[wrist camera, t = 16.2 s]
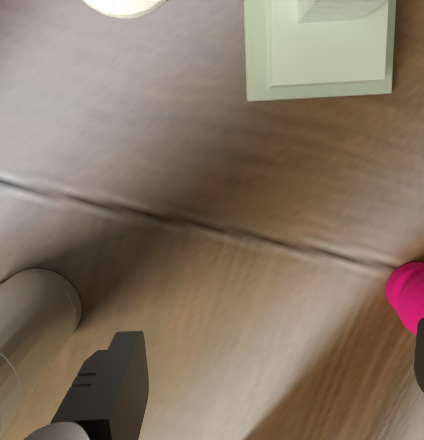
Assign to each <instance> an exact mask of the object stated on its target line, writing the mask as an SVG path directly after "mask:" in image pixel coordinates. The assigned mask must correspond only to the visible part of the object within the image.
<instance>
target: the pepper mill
mask: <svg viewBox="0 0 424 440" xmlns="http://www.w3.org/2000/svg"><path fill="white" fill-rule="evenodd" d="M386 297H387V300H388V302H389V304H390V305H391V306H392V307H393V308H394V309H395V310H396V311H397V312H398V315H399V318H400V319H401V321H402V323H403V324H404V325H405V327H406V328H408V329H409V330H410V331H411V332H413V333H414V334H415V335H417V325H418V322H419V320H420V319H421V318H424V263H422V262H411V263H407V264H405V265H403V266H401V267H399V268H398V269H397V270H395V271H394V272H393V274H392V275H391V276H390V278H389V280H388V282H387V285H386Z"/></svg>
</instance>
